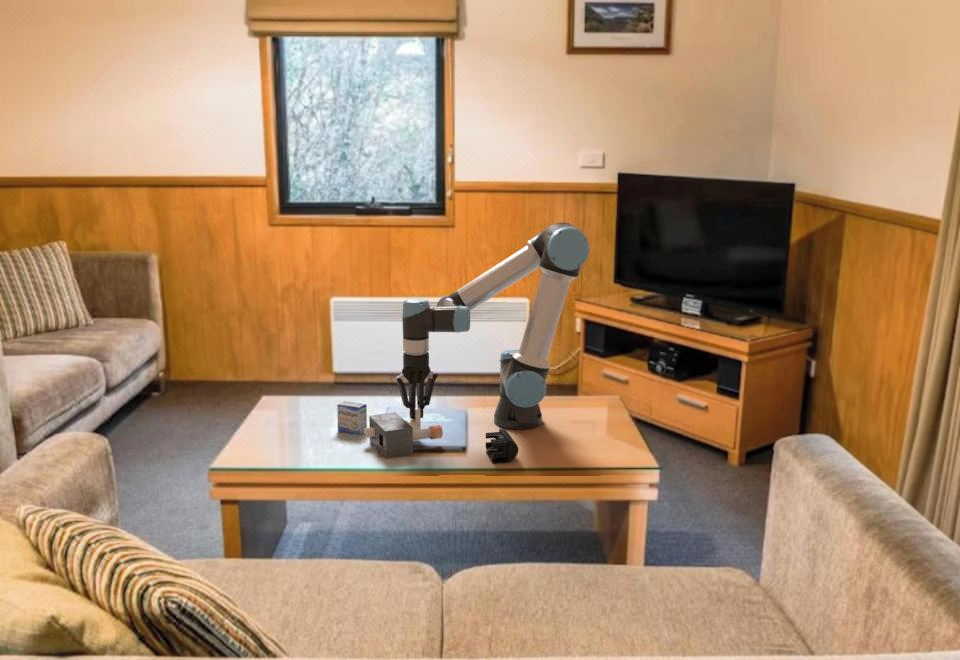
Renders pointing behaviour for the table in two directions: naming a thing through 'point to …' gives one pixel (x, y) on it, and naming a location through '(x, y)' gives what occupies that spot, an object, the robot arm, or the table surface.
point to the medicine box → (352, 417)
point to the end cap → (501, 447)
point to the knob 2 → (428, 433)
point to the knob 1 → (371, 431)
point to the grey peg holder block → (391, 435)
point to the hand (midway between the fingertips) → (416, 428)
